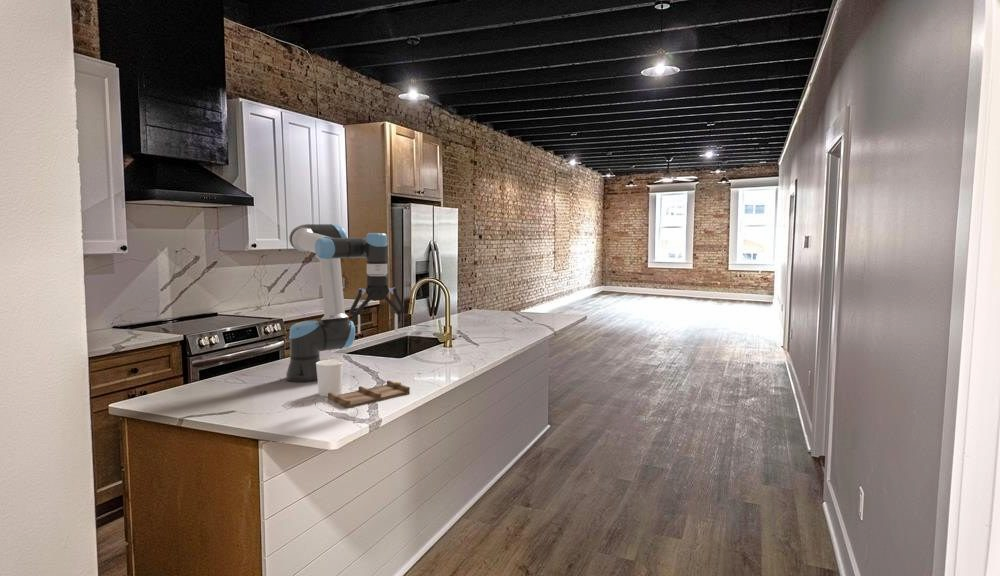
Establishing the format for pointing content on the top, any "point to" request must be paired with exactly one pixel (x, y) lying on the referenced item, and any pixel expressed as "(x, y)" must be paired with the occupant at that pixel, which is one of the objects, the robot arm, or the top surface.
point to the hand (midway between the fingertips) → (377, 332)
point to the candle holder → (329, 377)
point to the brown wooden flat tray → (369, 394)
